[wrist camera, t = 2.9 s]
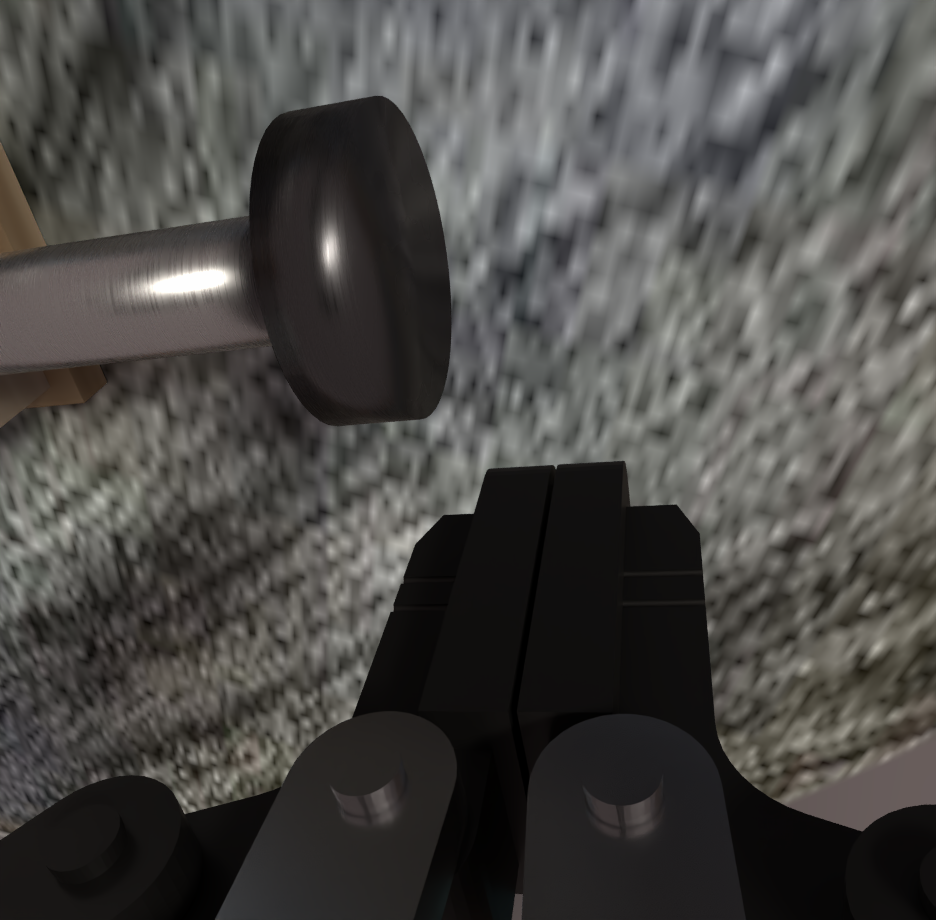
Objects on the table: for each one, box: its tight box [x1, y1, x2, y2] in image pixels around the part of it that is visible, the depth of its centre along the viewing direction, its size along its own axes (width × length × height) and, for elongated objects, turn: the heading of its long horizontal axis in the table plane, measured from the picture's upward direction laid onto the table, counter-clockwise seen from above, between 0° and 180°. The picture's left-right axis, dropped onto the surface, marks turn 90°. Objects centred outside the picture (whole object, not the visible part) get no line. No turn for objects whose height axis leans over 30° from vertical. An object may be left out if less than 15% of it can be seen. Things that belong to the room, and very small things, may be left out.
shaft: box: [0, 96, 451, 426], centre depth 22 cm, size 18×7×7 cm, turn 100°
